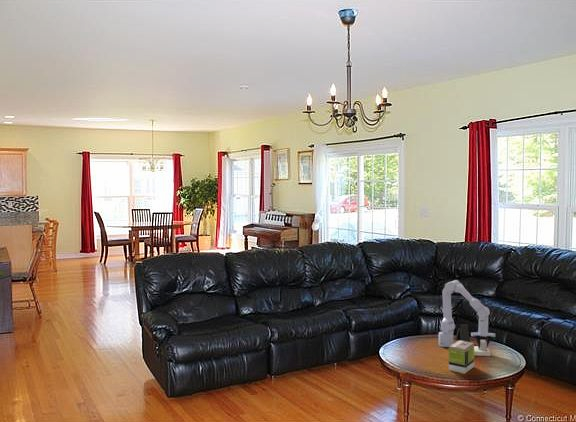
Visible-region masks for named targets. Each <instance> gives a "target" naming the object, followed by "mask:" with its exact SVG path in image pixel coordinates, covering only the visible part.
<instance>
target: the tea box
mask: <svg viewBox="0 0 576 422" xmlns="http://www.w3.org/2000/svg"><path fill="white" fill-rule="evenodd" d="M474 346H475V342H471V341H470V342H466V341H460V340H458V341H456V340H455V342H453V344H452V345H450V346H449V347H448V371H451V372H454V373H460V374H466V373H467V372H469V371H470V370H471V369H473V368H475V356H474Z"/></svg>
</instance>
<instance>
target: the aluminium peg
mask: <svg viewBox="0 0 576 422" xmlns="http://www.w3.org/2000/svg"><path fill="white" fill-rule="evenodd" d="M487 348H488V347H487V342H486V339H481V340H480V348H479V350H485V351H487Z"/></svg>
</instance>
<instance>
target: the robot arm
mask: <svg viewBox="0 0 576 422" xmlns="http://www.w3.org/2000/svg"><path fill="white" fill-rule="evenodd" d="M441 293H442V294H441V295H442V315H443V319H442V320H441V325H440V331H439V332H438V343H437V344H438V346H439V347H442V348H449V346H450V345H452V344H453V343H454V331H455V329H456V324H455V322H454V318H453V317H452V316H453V313H452V312H453V311H452V294H454V293H458V294H461V295H462V296H463V297H464V299H466V300H467V301H468V302H469V306H471V307H472V309H473V310H474V311H475V312H476V313H477V316H478V328H477V329H478V330H477V331H476V332H470V336H471V337H475V340H476V342H477V346H478V347H479V348H480V340H482V339H481V337H484V338H485V340H486V342H487V348H488V347H489V344H490V342H491V340H492V338H495V337H496V333H495V332H494V333H493V332H489V315H490V314H491V312H490V309H489V308H488V307H487V306H485V305H484V304H482V303H481V302H480V300H479V299H477V297H473V295H471V294H470V292H469V291H468V290H467V289H466V288H465V287H464V285H463V284H462V283H461V281H460V280H458V279H454V280H452V281H449V282H447V283H444V287H443V289H442V292H441Z"/></svg>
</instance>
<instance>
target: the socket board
mask: <svg viewBox="0 0 576 422" xmlns="http://www.w3.org/2000/svg"><path fill="white" fill-rule="evenodd" d="M491 356H492V351H491V350H490V349H489V348H488V347H487V351H485V350H479V347H478V345H476V346H475V345H474V357H491Z"/></svg>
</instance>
